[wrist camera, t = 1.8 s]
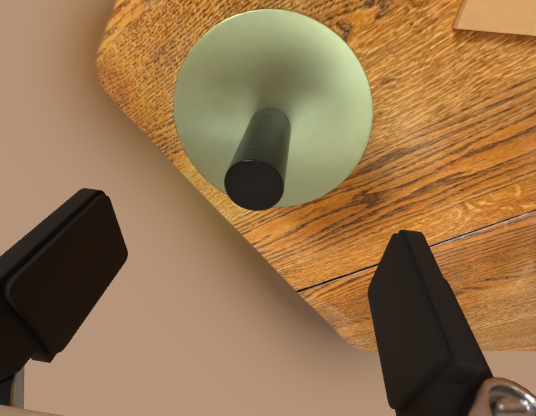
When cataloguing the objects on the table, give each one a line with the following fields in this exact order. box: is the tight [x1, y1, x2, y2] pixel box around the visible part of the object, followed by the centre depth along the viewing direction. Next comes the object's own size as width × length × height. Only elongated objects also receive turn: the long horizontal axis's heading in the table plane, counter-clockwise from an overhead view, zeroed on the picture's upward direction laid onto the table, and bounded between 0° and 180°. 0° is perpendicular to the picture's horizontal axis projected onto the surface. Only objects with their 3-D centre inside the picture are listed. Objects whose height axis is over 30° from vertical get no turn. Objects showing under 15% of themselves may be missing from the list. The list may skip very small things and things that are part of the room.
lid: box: [173, 9, 373, 211], centre depth 15 cm, size 12×12×8 cm
